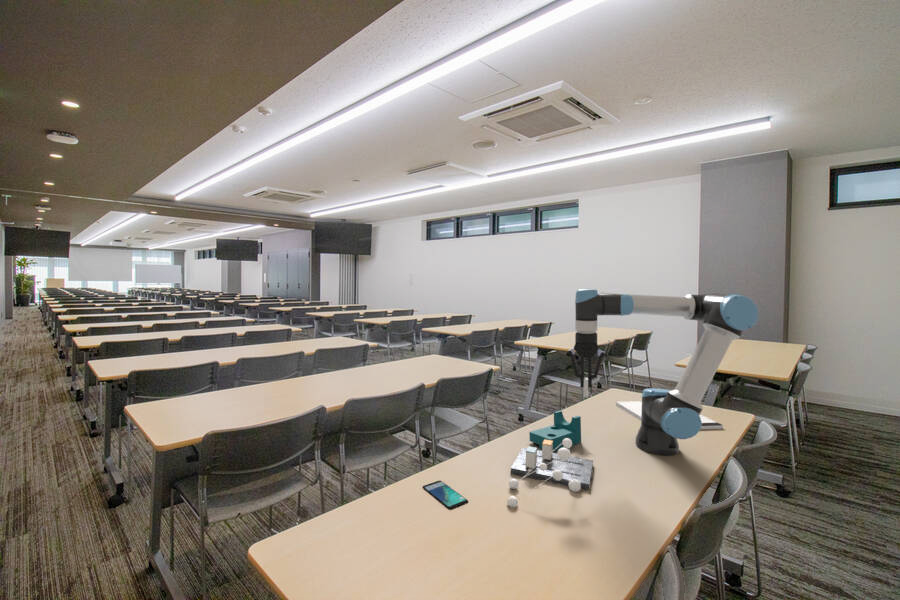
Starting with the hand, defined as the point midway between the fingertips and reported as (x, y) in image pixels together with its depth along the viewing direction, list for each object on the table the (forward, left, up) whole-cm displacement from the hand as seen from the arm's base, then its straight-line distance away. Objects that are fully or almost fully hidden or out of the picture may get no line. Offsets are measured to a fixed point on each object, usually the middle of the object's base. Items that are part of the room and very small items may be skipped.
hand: (586, 396), depth 144 cm
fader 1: (+16, +18, -21) cm, 32 cm away
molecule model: (+9, +31, -24) cm, 40 cm away
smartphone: (+37, +44, -24) cm, 62 cm away
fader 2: (+12, +10, -21) cm, 26 cm away
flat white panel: (-32, -65, -24) cm, 77 cm away
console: (+9, +14, -23) cm, 29 cm away
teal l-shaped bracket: (+12, -9, -24) cm, 28 cm away
